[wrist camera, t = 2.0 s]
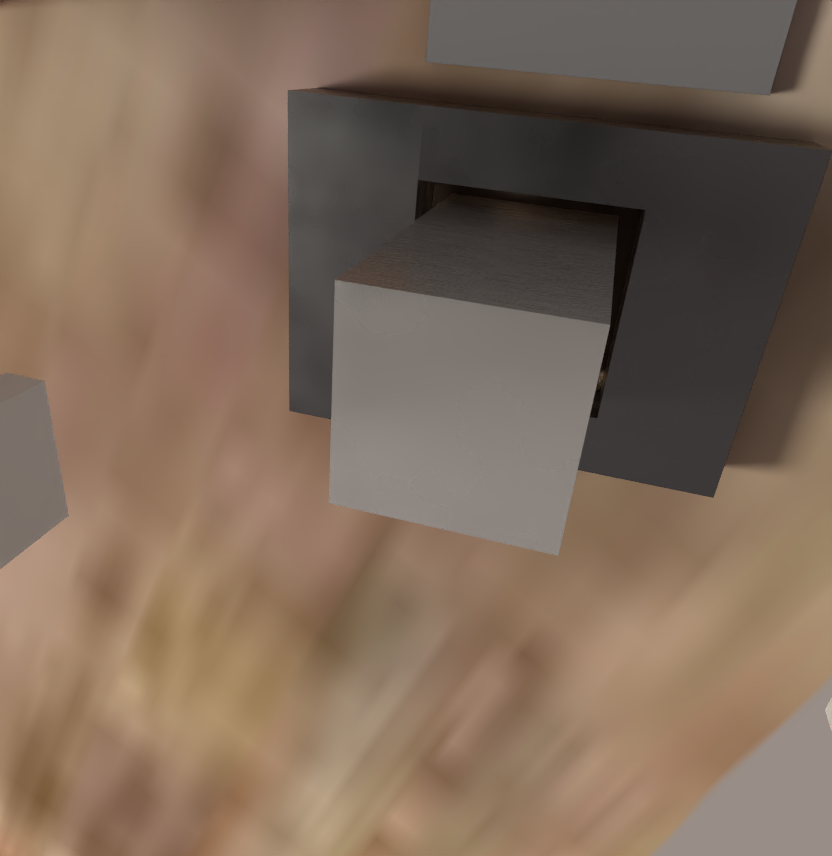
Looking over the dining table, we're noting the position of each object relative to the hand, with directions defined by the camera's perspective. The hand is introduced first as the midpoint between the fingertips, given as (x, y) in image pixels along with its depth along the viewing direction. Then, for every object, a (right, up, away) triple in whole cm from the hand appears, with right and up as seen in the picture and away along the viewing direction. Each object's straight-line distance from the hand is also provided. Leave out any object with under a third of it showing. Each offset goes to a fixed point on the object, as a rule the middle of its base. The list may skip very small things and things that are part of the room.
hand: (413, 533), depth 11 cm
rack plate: (+3, +6, +11) cm, 13 cm away
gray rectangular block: (+3, +6, +11) cm, 13 cm away
